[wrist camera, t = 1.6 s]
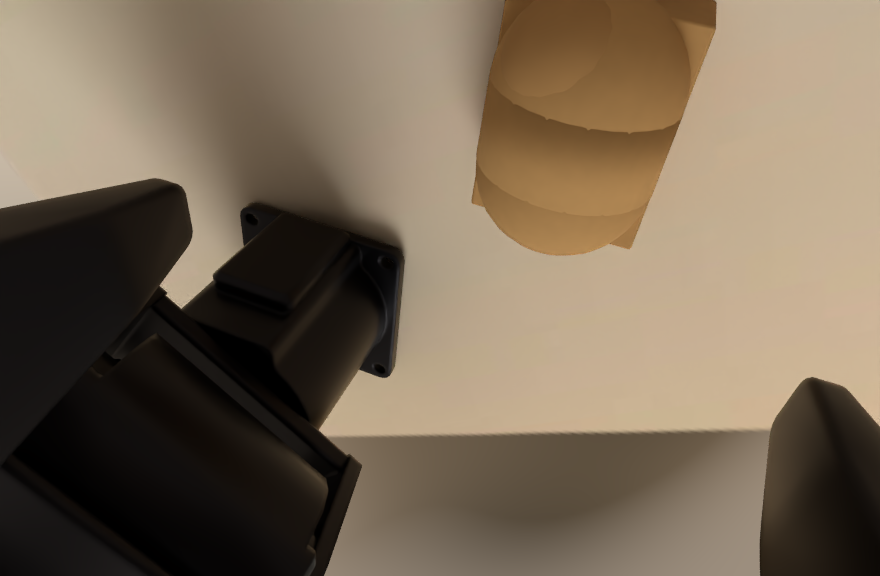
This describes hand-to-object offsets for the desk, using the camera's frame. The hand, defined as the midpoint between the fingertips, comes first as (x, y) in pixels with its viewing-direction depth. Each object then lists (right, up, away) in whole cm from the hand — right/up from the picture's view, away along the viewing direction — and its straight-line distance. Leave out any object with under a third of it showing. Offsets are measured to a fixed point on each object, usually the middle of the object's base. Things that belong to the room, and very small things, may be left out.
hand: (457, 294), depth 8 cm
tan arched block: (+4, +5, +8) cm, 10 cm away
